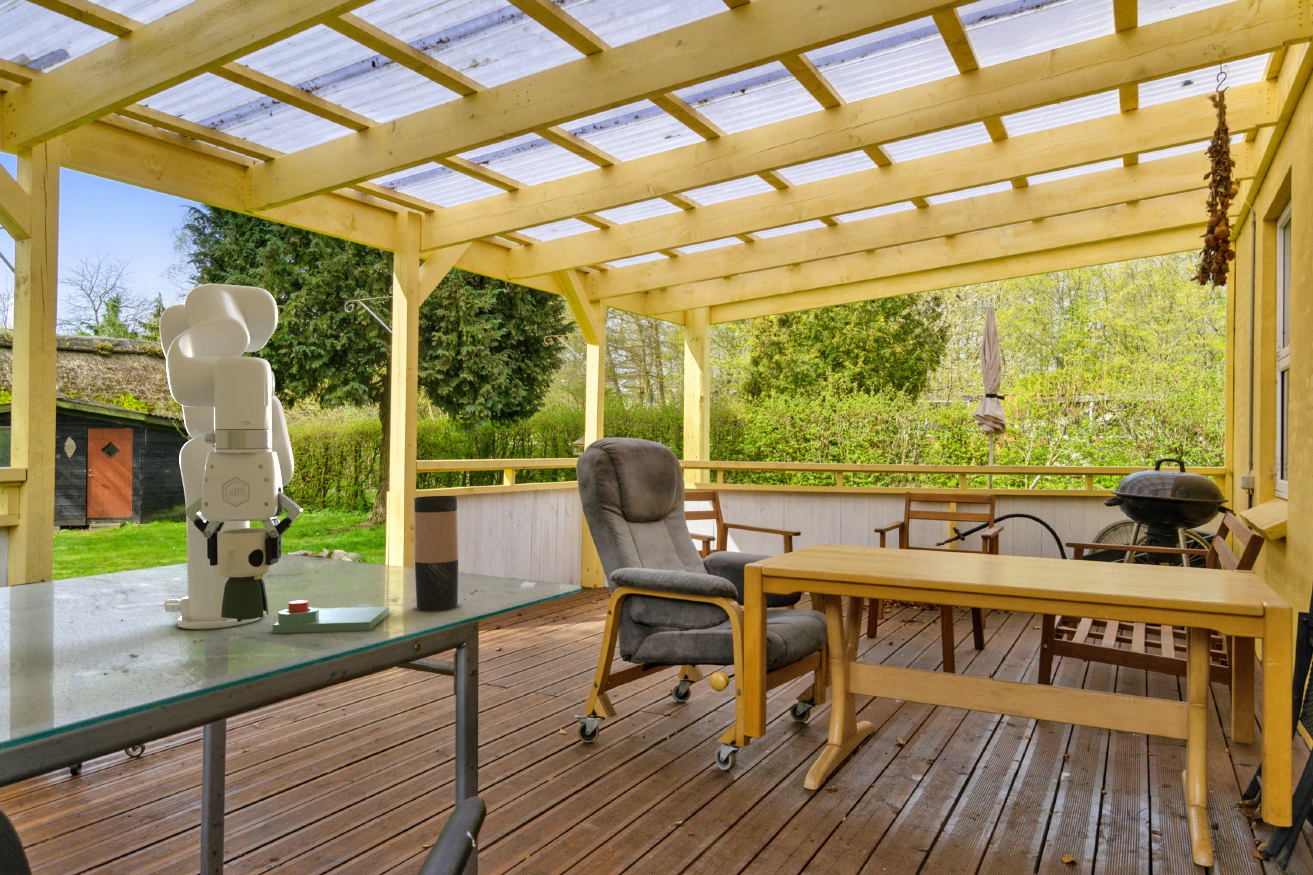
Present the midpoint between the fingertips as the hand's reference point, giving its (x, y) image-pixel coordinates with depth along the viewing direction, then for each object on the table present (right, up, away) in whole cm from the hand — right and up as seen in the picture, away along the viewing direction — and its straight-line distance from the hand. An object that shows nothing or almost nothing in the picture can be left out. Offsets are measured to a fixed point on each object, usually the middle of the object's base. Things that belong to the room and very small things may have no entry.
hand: (244, 563), depth 125 cm
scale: (+6, -13, +18) cm, 23 cm away
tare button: (+2, -10, +14) cm, 17 cm away
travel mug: (+20, -13, +30) cm, 38 cm away
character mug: (0, -8, 0) cm, 8 cm away
